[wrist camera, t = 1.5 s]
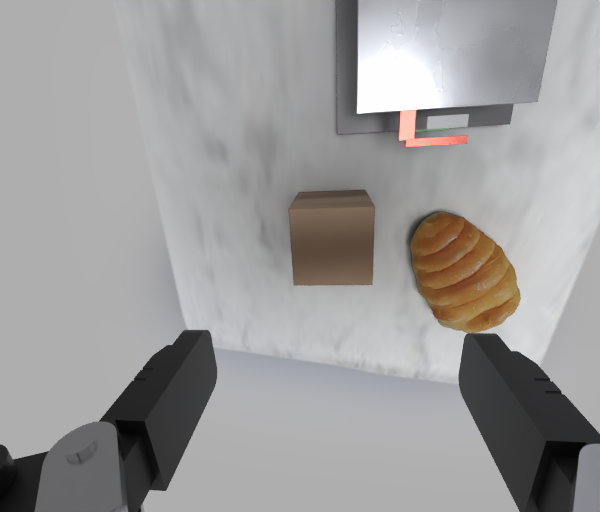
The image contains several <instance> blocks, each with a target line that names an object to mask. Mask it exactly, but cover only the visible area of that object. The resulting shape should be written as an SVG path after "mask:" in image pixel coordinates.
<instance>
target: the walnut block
mask: <svg viewBox="0 0 600 512" xmlns="http://www.w3.org/2000/svg"><path fill="white" fill-rule="evenodd" d="M374 216H375V206H374V204H373V203H372V201H371V199H370V198H369V196H368V194H367V192H366V191H365V190H345V191H319V192H299V193H298V195H297V196H296V198H295V200H294V201H293V203H292V205H291V206H290V208H289V221H290V236H291V251H292V266H293V280H294V285H372V280H373V248H374Z"/></svg>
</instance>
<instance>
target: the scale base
mask: <svg viewBox="0 0 600 512" xmlns="http://www.w3.org/2000/svg"><path fill="white" fill-rule="evenodd" d="M336 42H337V133H338V134H351V133H368V132H385V131H398V124H399V111H398V112H382V113H367V114H356V101H357V0H336ZM512 110H513V104H505V105H490V106H475V107H459V108H444V109H428V110H416V118H415V132H422V131H440V130H448V128H456V127H471V126H488V125H505V124H510V121H511V116H512Z"/></svg>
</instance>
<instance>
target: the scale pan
mask: <svg viewBox="0 0 600 512" xmlns="http://www.w3.org/2000/svg"><path fill="white" fill-rule="evenodd" d="M556 4H557V0H357V101H356V114H367V113H382V112H398V111H399V124H398V140H405V147H411V146H430V145H449V144H467V137H468V136H450V137H432V138H414V132H415V118H416V110H428V109H444V108H459V107H475V106H490V105H505V104H521V103H532V102H538V97H539V92H540V87H541V81H542V76H543V71H544V66H545V61H546V56H547V51H548V45H549V40H550V35H551V30H552V25H553V20H554V15H555V10H556Z"/></svg>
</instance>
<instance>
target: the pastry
mask: <svg viewBox="0 0 600 512" xmlns="http://www.w3.org/2000/svg"><path fill="white" fill-rule="evenodd" d="M410 249H411V254H412V258H413V263H412V267H413V270H414V273H415V275H416V279H417V288H418V292H419V293H420V294H421V295H422V296H423V297H424V298H425V299H426V301H427V303H428V304H429V306H430V307H431V309H432V311H433V314H434V316H435V317H436V318H437V319H438V322H439V324H440V325H442V326H444V327H447V328H452V329H454V330H460V331H461V330H462V331H464V332H466V333H476V332H480V331H484V330H487V329H490V328H492V327H495V326H498V325H500V324H502V323H503V322H504V320H505V319H506V318H507V317H508V316H510V315H512V314H513V313H514V312H515V310H516V309H517V307H518V305H519V302H520V299H521V298H520V290H519V289H518V287H517V283H516V280H517V278H516V274H515V270H514V267H513V266H512V265H511V263H510V262H509V260H508V259H507V257H506V256H505V254H504V252H503V250H502V248H501V247H500V246H498V245H497V244H496V243H495V242H494V241H493V240H492V239H490V238H489V237H487V236H486V235H485V234H484V233H483V232H481V231H480V230H478V229H477V228H476V227H475V226H474V225H472V224H471V223H469V222H468V221H467V220H466V219H465V218H463V217H460V216H456V215H452V214H450V213H446V212H436V213H434V214H432V215H430V216H428V217H427V218H425V219H424V220H423V221H422V222H421V224H420V225H419V226H418V228H417V229H416V231H415V234H414V236H413V237H412V239H411V242H410Z"/></svg>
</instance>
